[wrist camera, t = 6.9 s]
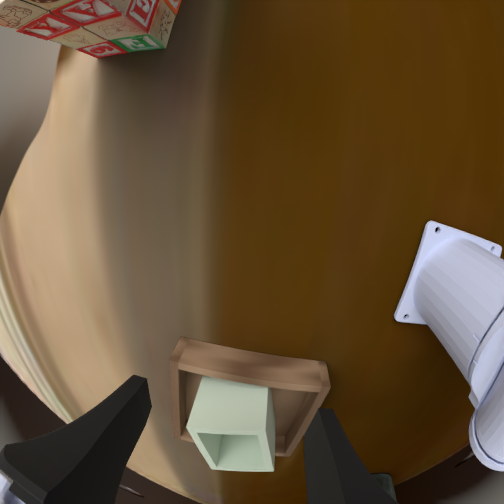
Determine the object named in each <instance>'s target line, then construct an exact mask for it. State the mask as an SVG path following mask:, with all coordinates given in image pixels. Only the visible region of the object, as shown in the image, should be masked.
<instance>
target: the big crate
mask: <svg viewBox="0 0 504 504" xmlns="http://www.w3.org/2000/svg"><path fill="white" fill-rule="evenodd" d="M169 368H170V389H171V405H172V418H173V429H174V438H178V439H182V440H186V441H190V442H194V440H193V438H192V437H191V435H190V433H189V431H188V430H187V428H186V426H187V423H188V420H189V417H190V414H191V410H192V407H193V404H194V401H195V398H196V395H197V392H198V389H199V386H200V382H201V379H202V376H203V375H205V376H210V377H214V378H219V379H224V380H229V381H234V382H240V383H246V384H252V385H258V386H265V387H271V390H272V397H273V404H274V411H275V418H276V434H275V456H285V457H290V455H291V454H292V452H293V451H294V449H295V448H296V446H297V445H298V443H299V442H300V440H301V438H302V437H303V435H304V434H305V432H306V430H307V428H308V427H309V425H310V423H311V421H312V419H313V417H314V415H315V414H316V412H317V410H318V408H320V406H321V405H322V403H323V401H324V399H325V397H326V395H327V394H328V392H329V390H330V388H331V385H330V380H329V375H328V370H327V365H326V362H325V361H316V360H307V359H299V358H291V357H284V356H277V355H270V354H264V353H258V352H252V351H246V350H241V349H236V348H230V347H225V346H220V345H216V344H211V343H206V342H202V341H197V340H193V339H189V338H185V337H180V339H179V341H178V343H177V345H176V347H175V349H174V351H173V354H172V356H171V358H170V360H169ZM194 443H195V442H194Z"/></svg>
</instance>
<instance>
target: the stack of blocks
mask: <svg viewBox="0 0 504 504" xmlns="http://www.w3.org/2000/svg"><path fill="white" fill-rule="evenodd" d="M181 1H182V0H0V26H4V27H9V28H15V29H17V30H16V31H17V32H20V33H23V34H27V35H30V36H34V37H37V38H41V39H44V40H50V41H53V42H57V43H60V44H63V45H66V46H68V47H71V48H75V49H76V50H78V51H81V52H83V53H86V54H89V55H91V56H93V57H96V58H101V57H106V56H111V55H117V54H123V53H128V52H134V51H142V50H153V49H165V48H166V46H167V43H168V39H169V36H170V32H171V29H172V25H173V22H174V19H175V16H176V15H177V13H178V10H179V7H180V4H181Z"/></svg>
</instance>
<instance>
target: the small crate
mask: <svg viewBox="0 0 504 504" xmlns="http://www.w3.org/2000/svg"><path fill="white" fill-rule="evenodd" d="M186 428H187V430H188V431H189V433H190V435H191V437H192V438H193V440H194V442H195V443H196V445H197V447H198V448H199V450H200V452H201V453H202V455H203V457H204V458H205V460H206V461H207V463H208V464H209V466H210V467H211V469H216V470H229V471H256V472H267V471H274V459H275V434H276V418H275V411H274V404H273V397H272V390H271V387H265V386H258V385H252V384H246V383H240V382H234V381H229V380H224V379H219V378H214V377H210V376H205V375H203V376H202V379H201V382H200V386H199V389H198V392H197V395H196V398H195V401H194V404H193V407H192V410H191V414H190V417H189V420H188V423H187V426H186Z"/></svg>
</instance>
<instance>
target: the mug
mask: <svg viewBox="0 0 504 504" xmlns="http://www.w3.org/2000/svg"><path fill="white" fill-rule="evenodd" d="M372 476H373V478H374V479H375V480H376V481H377V483H378V484H379V485H380V486H381V487H382V488H383V489H384V490H385V491H386V492H387V493H388V494H389V495H390V496H391V497H392V498H393V499H394V500H395V501H396V496H395V491H394V486H393V482H392V478H391V476H390V475H388V474H384V473H380V474H372Z"/></svg>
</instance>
